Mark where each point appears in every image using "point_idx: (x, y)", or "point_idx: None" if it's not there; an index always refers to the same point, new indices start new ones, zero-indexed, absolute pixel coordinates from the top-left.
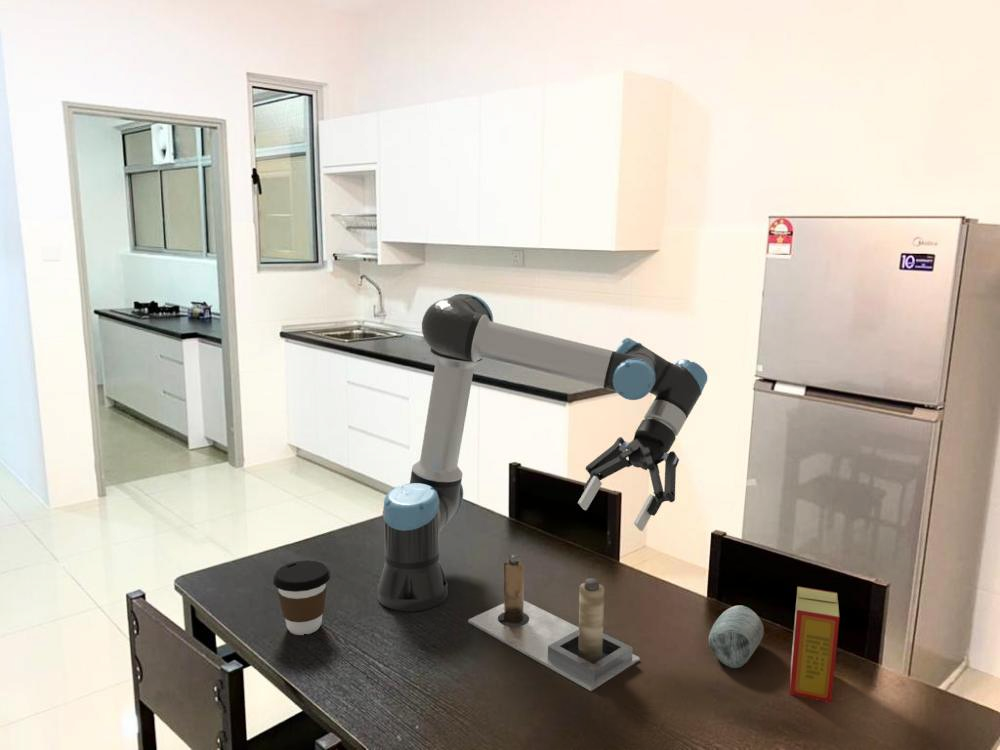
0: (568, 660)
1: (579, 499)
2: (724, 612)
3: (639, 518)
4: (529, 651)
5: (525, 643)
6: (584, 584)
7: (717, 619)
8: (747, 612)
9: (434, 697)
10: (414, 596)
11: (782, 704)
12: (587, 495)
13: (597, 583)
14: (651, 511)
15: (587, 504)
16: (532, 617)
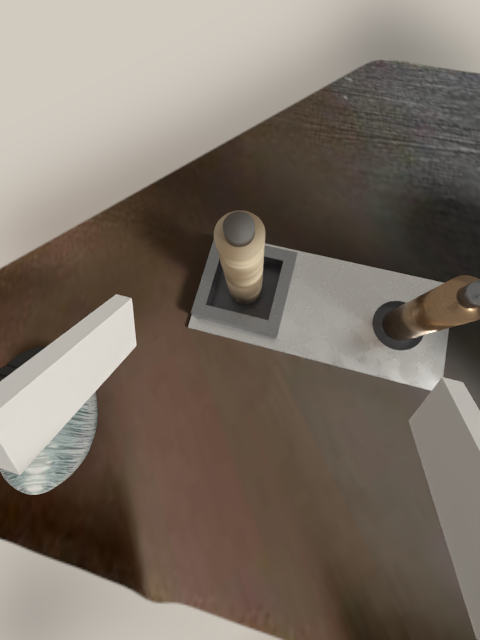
0: None
1: (471, 397)
2: (54, 444)
3: (100, 309)
4: (324, 260)
5: (340, 274)
6: (259, 238)
7: (68, 423)
8: None
9: (364, 137)
10: None
11: (7, 330)
12: (456, 437)
13: (224, 224)
14: (33, 349)
15: (423, 431)
16: (375, 344)
